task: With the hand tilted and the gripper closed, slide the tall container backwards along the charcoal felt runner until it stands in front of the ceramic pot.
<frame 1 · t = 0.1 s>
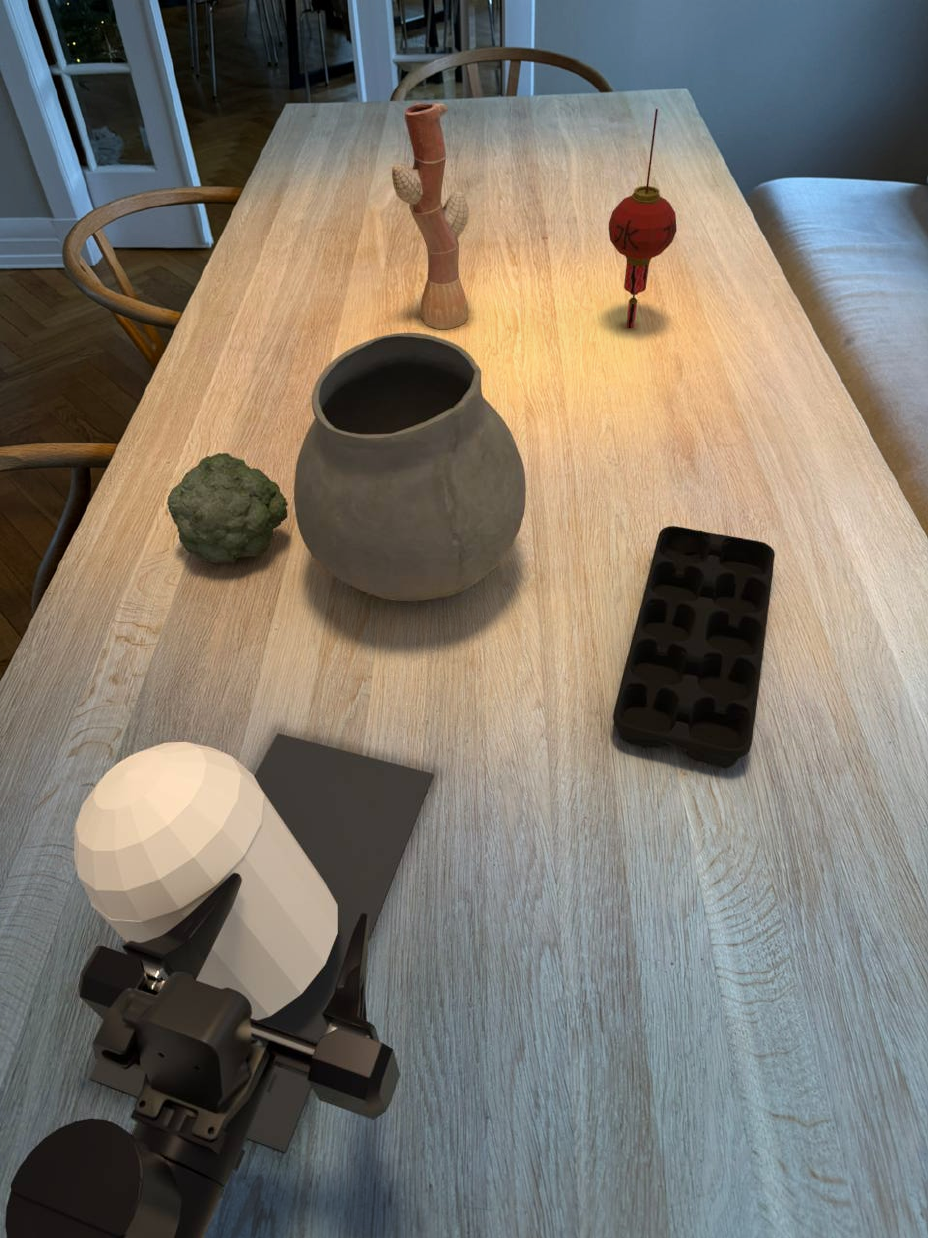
hand: (300, 895, 56), 17 cm above the table, tool horizontal, fingers open, 9 cm apart
runner: (281, 910, 73), on the table
lantern: (629, 327, 133), on the table
vase: (438, 319, 137), on the table
vegetable: (236, 539, 104), on the table
container: (262, 945, 69), point 2 cm above the table, touching gripper, runner
ceramic pot: (416, 564, 101), on the table
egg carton: (694, 650, 91), on the table
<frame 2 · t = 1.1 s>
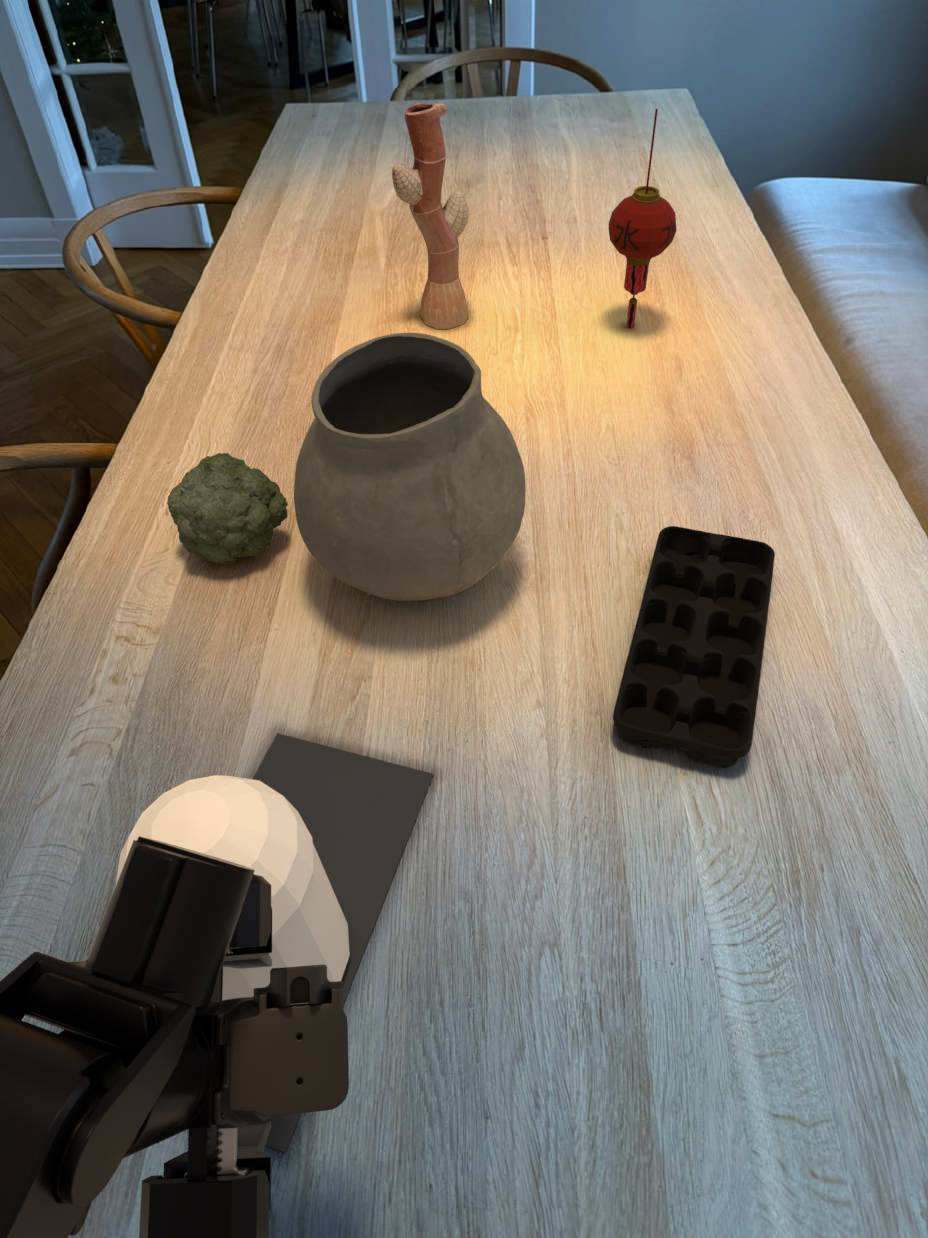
hand: (264, 1041, 55), 12 cm above the table, tool tilted 25°, fingers open, 9 cm apart
container: (269, 956, 70), point 1 cm above the table, touching gripper, runner
everything else where it was.
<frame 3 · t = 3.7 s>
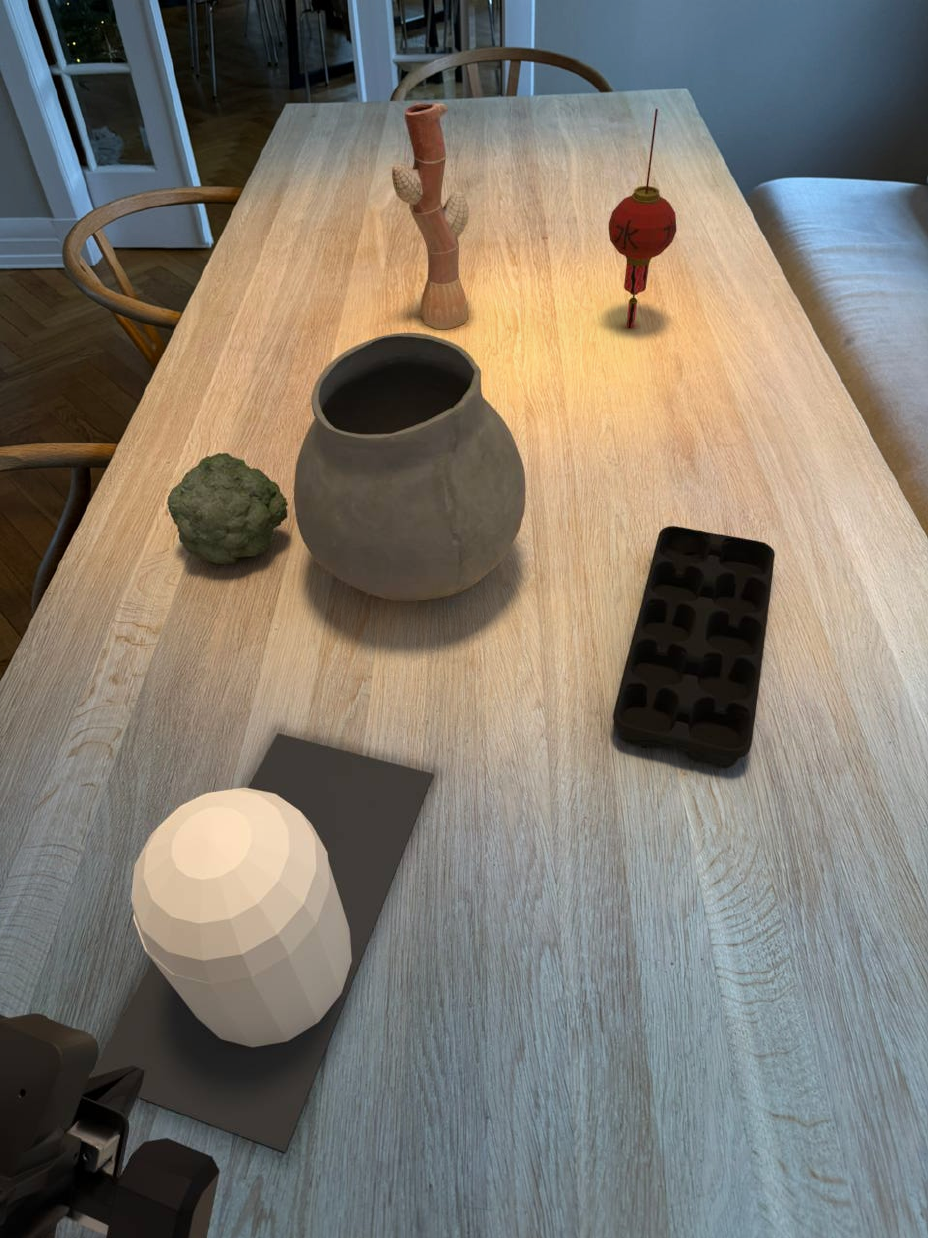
hand: (138, 1075, 53), 14 cm above the table, tool tilted 45°, fingers closed
container: (270, 959, 71), resting on runner
everything else where it was.
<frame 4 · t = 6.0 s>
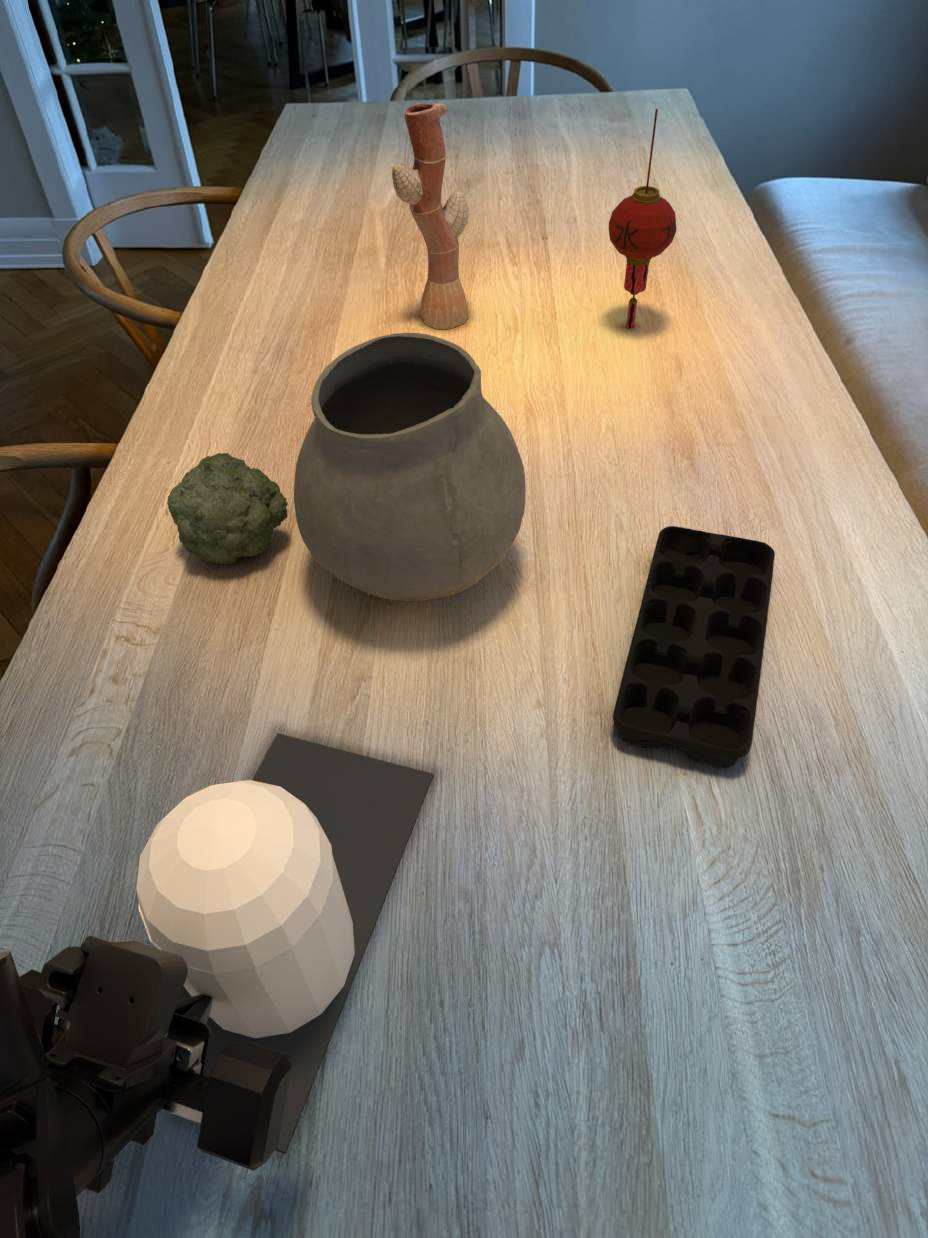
hand: (207, 1002, 61), 8 cm above the table, tool tilted 45°, fingers closed, pressing on container
container: (274, 951, 71), resting on runner, touching gripper
everything else where it was.
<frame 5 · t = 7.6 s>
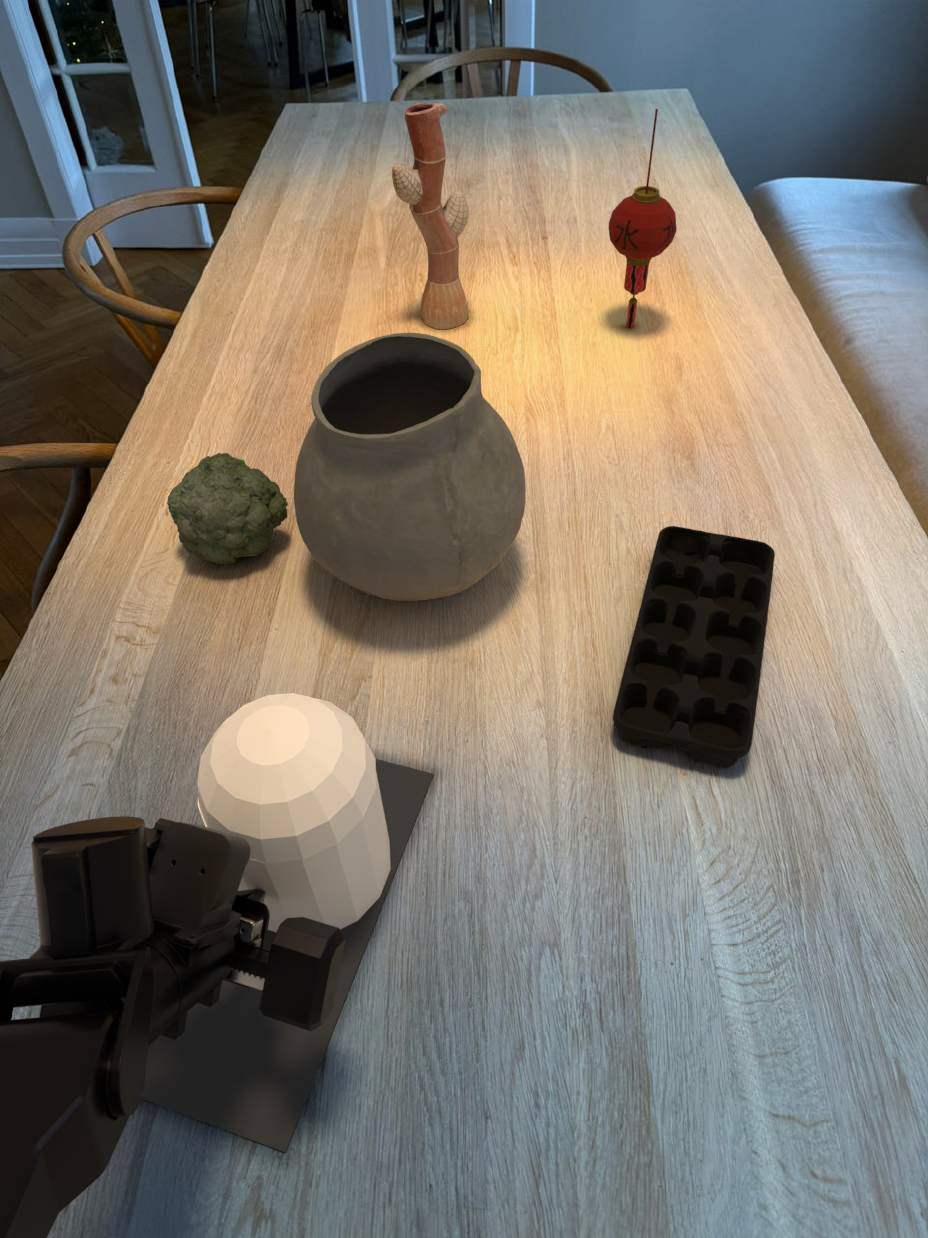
hand: (260, 896, 66), 8 cm above the table, tool tilted 45°, fingers closed, pressing on container
container: (315, 863, 76), resting on runner, touching gripper
everything else where it was.
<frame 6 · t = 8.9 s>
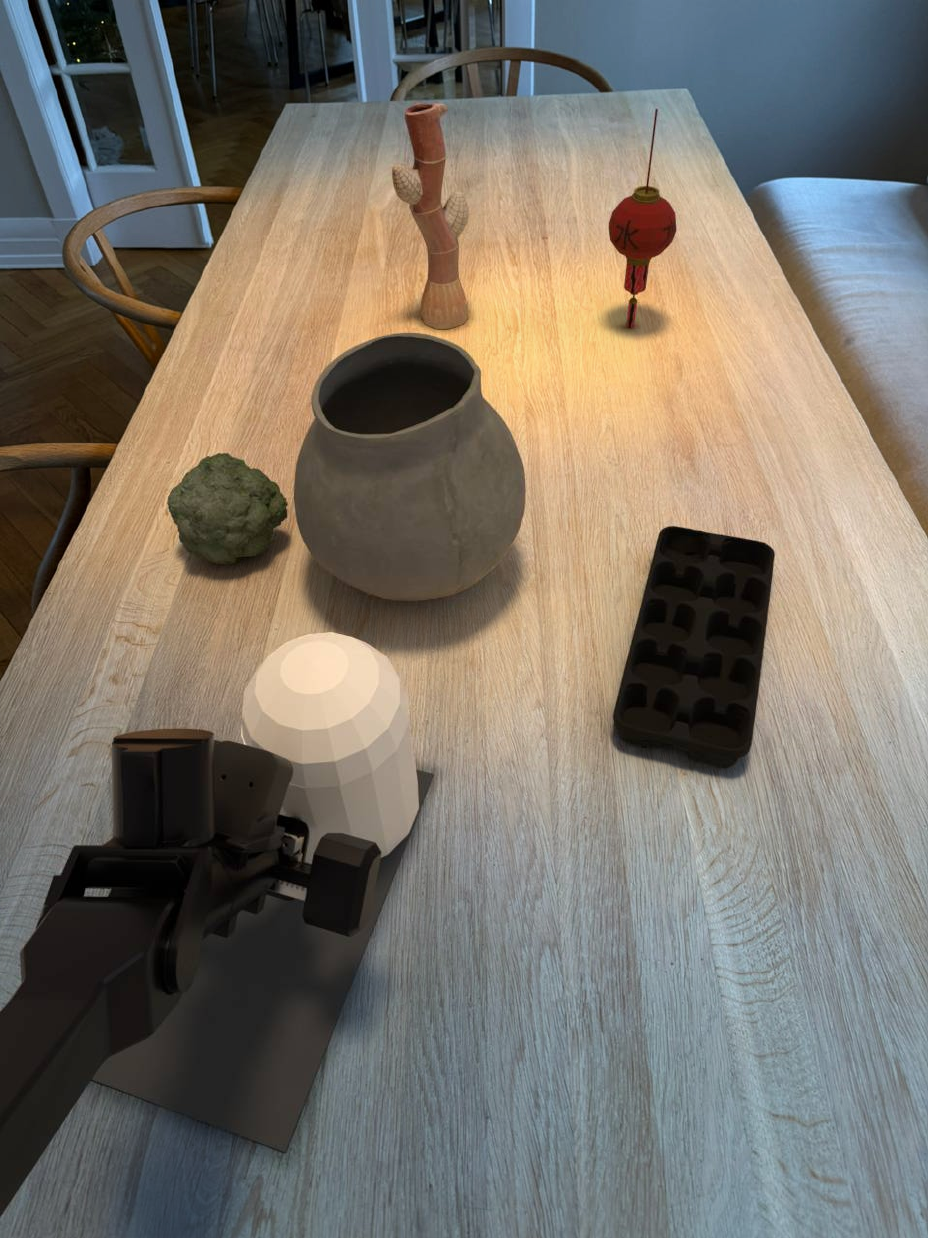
hand: (296, 824, 70), 8 cm above the table, tool tilted 45°, fingers closed, pressing on container
container: (347, 802, 80), resting on runner, touching gripper
everything else where it was.
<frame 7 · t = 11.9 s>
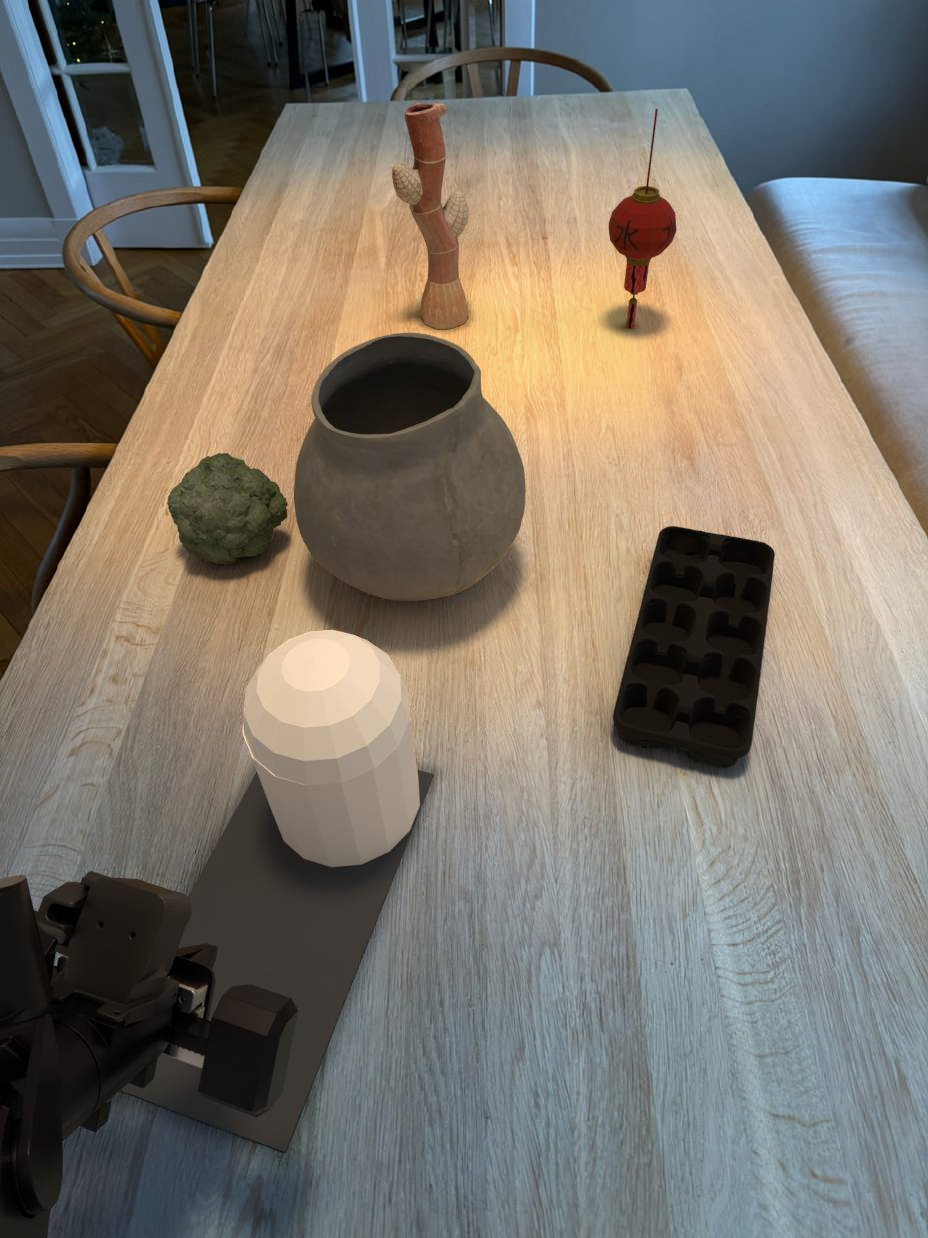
hand: (211, 952, 59), 12 cm above the table, tool tilted 45°, fingers closed
container: (348, 800, 80), resting on runner
everything else where it was.
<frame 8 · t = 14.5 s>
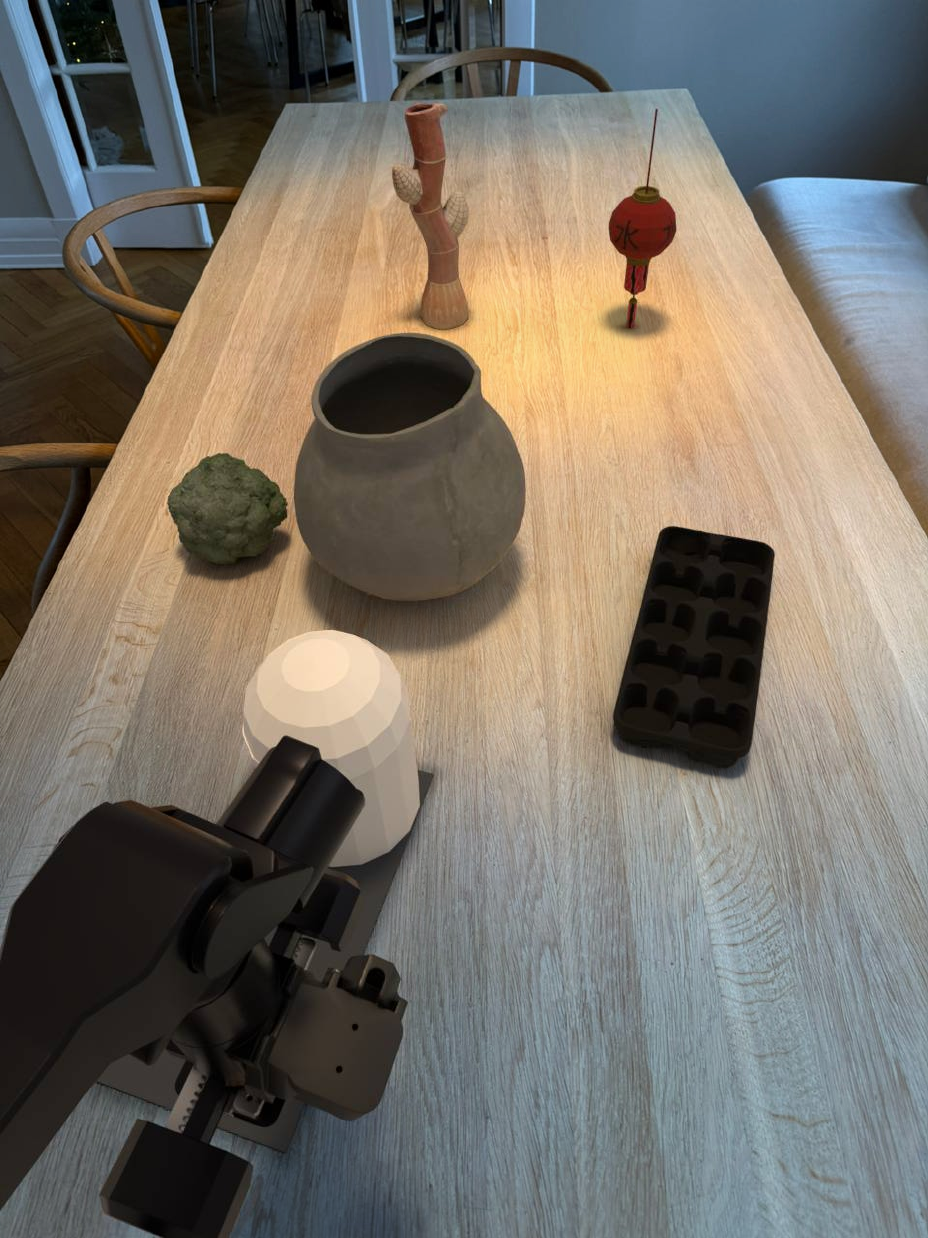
hand: (276, 1075, 53), 13 cm above the table, tool pointing down, fingers closed
nothing on the table moved.
at the end: container tilted 0°; container moved 15.2 cm from its start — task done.
